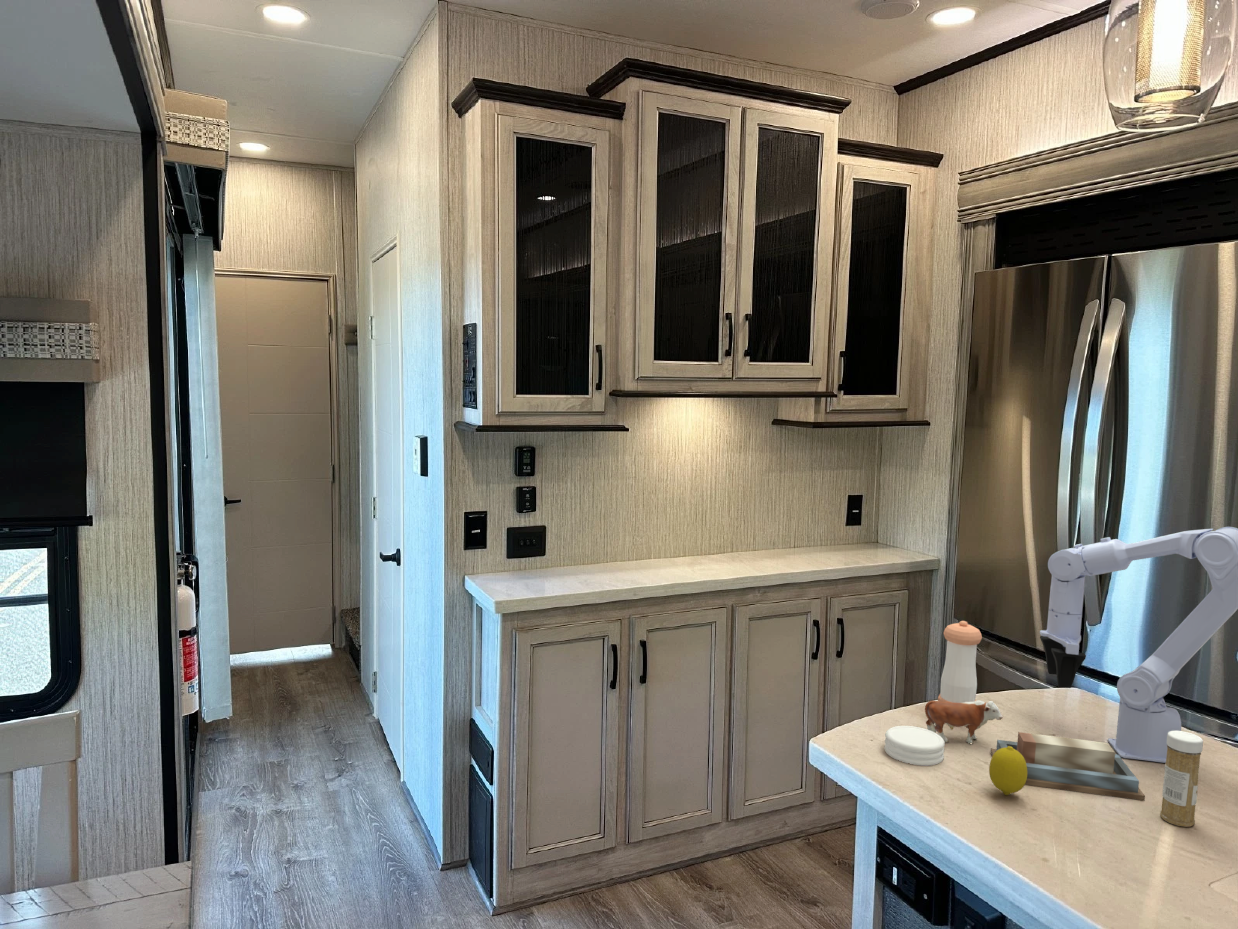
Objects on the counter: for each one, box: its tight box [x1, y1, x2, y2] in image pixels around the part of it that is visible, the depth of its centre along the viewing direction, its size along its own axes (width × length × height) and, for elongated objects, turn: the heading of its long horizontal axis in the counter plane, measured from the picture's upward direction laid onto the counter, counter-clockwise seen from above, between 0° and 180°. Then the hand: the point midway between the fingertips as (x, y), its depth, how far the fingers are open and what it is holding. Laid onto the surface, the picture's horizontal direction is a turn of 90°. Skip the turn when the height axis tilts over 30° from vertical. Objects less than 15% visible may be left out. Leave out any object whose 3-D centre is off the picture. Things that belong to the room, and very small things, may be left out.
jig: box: [990, 739, 1146, 802], centre depth 147 cm, size 21×12×3 cm, turn 76°
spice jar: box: [1159, 730, 1204, 827], centre depth 132 cm, size 5×5×13 cm
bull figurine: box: [924, 699, 1004, 745], centre depth 160 cm, size 4×13×8 cm, turn 79°
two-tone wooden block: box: [1016, 731, 1116, 774], centre depth 147 cm, size 14×4×5 cm, turn 77°
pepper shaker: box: [937, 620, 983, 703], centre depth 172 cm, size 7×7×19 cm
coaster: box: [884, 725, 946, 767], centre depth 154 cm, size 10×10×4 cm
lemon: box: [988, 746, 1027, 796], centre depth 139 cm, size 6×6×8 cm
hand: (1059, 680), depth 168 cm, fingers open, 7 cm apart
